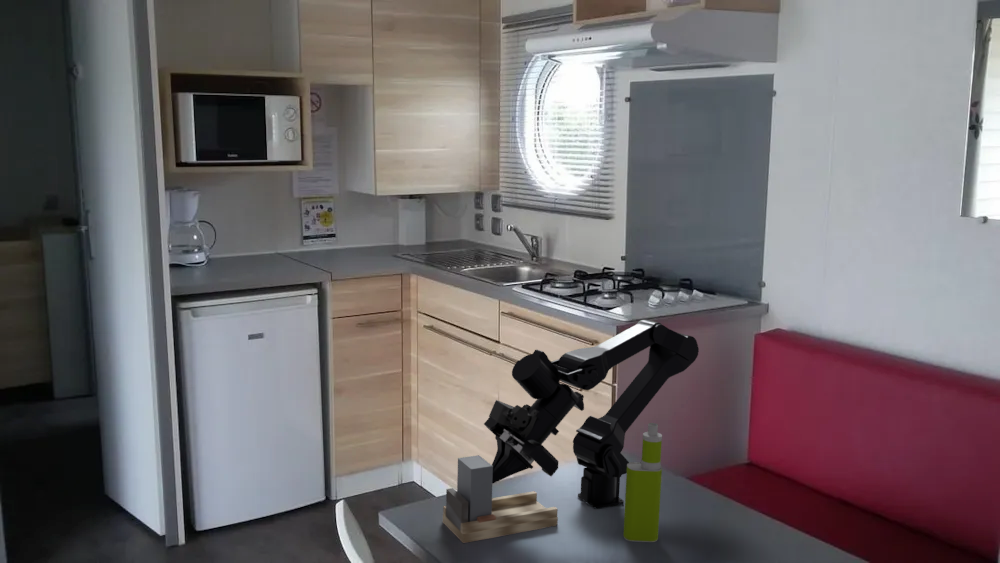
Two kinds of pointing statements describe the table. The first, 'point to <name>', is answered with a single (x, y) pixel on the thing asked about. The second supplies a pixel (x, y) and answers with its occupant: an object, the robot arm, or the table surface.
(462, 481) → the grey rectangular box
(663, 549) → the table surface
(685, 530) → the table surface
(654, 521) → the vape
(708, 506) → the table surface
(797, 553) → the table surface
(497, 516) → the sleeve track
